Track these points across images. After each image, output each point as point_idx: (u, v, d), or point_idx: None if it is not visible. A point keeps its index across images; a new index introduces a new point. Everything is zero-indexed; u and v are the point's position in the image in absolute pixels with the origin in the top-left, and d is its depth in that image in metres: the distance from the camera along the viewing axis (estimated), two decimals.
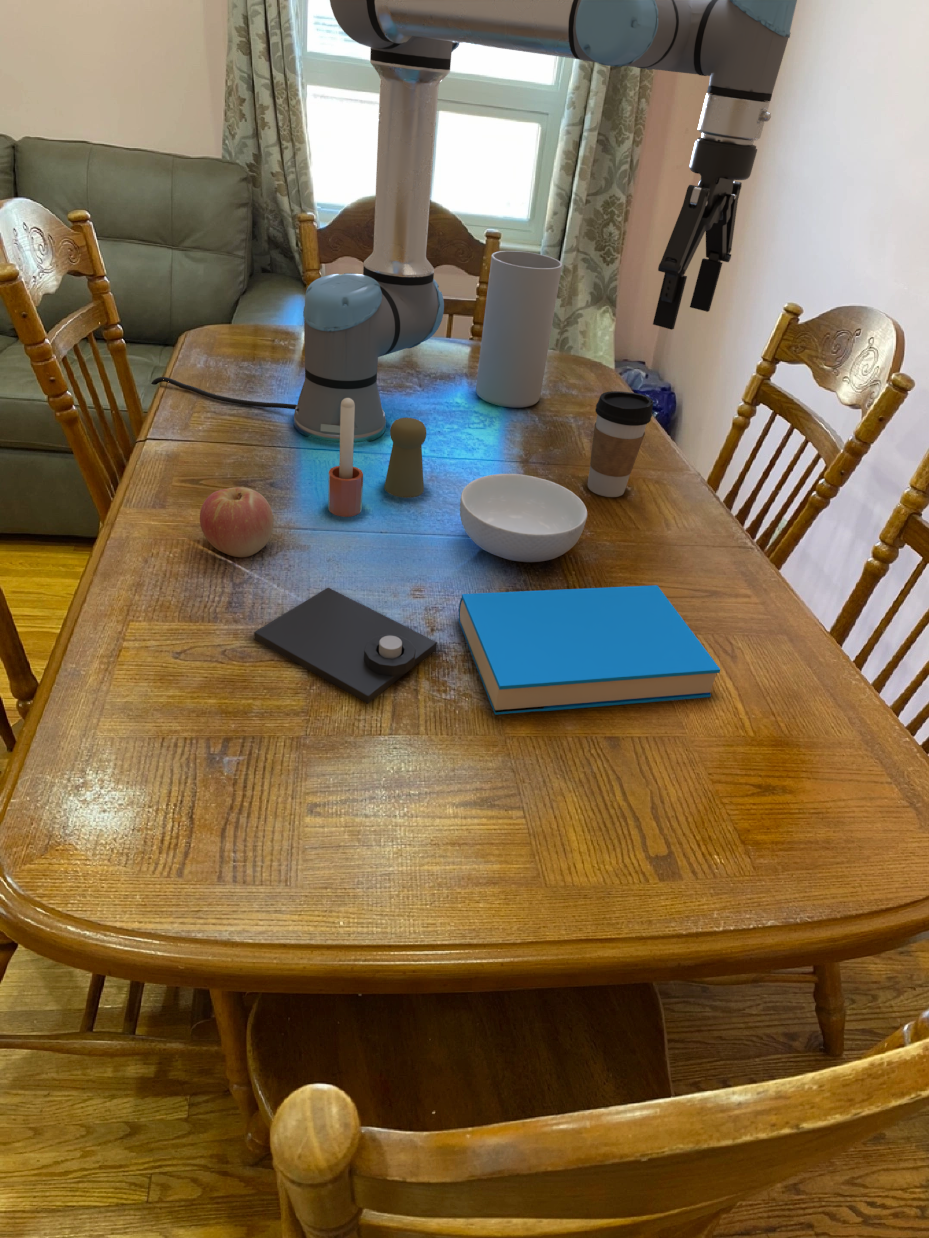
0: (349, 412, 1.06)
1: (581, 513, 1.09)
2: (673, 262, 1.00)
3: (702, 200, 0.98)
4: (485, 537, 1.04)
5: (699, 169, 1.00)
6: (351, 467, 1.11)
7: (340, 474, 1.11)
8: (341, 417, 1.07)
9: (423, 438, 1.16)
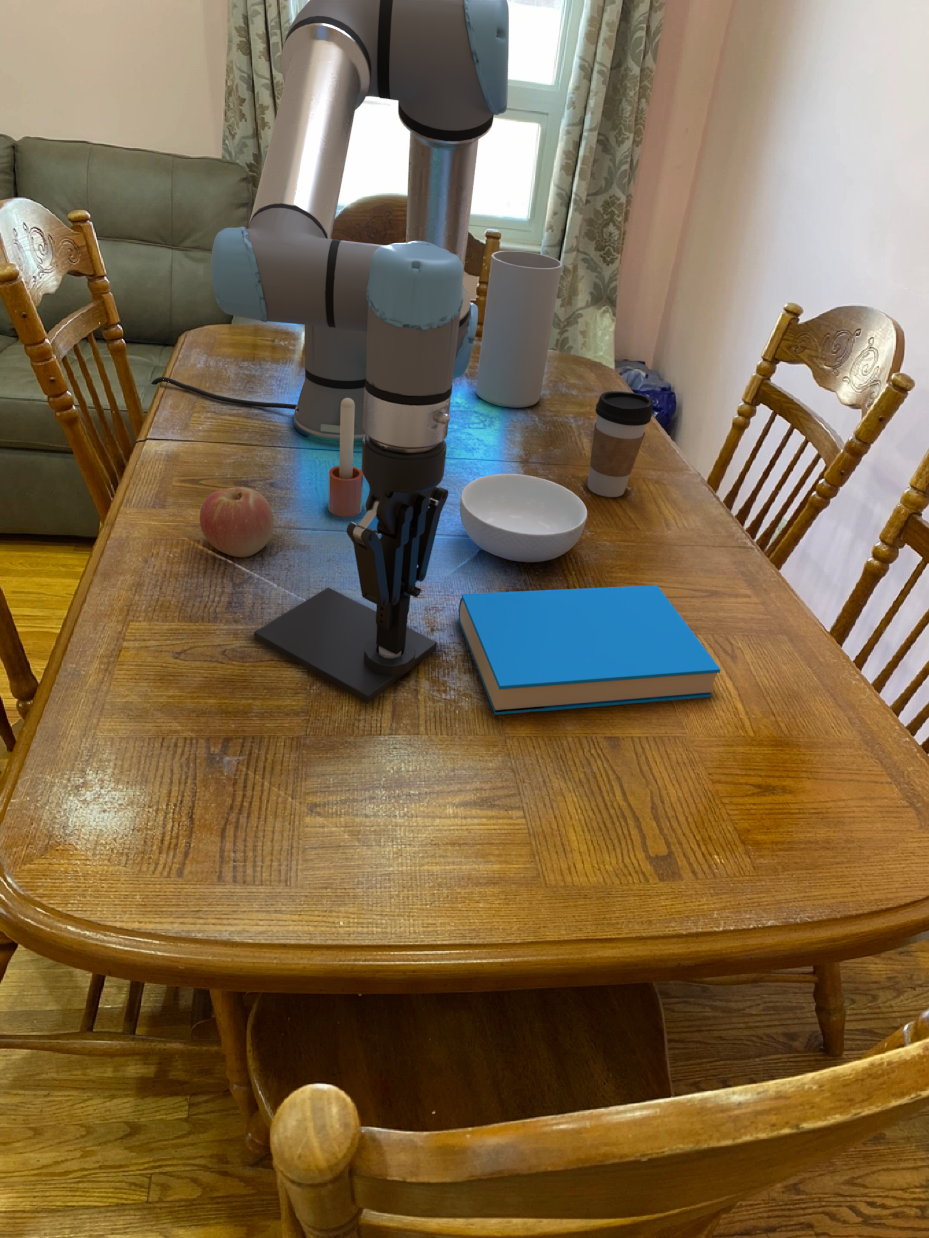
0: (349, 412, 1.06)
1: (581, 512, 1.09)
2: None
3: (369, 546, 0.73)
4: (485, 537, 1.04)
5: (366, 477, 0.73)
6: (351, 467, 1.11)
7: (340, 474, 1.11)
8: (341, 417, 1.07)
9: None
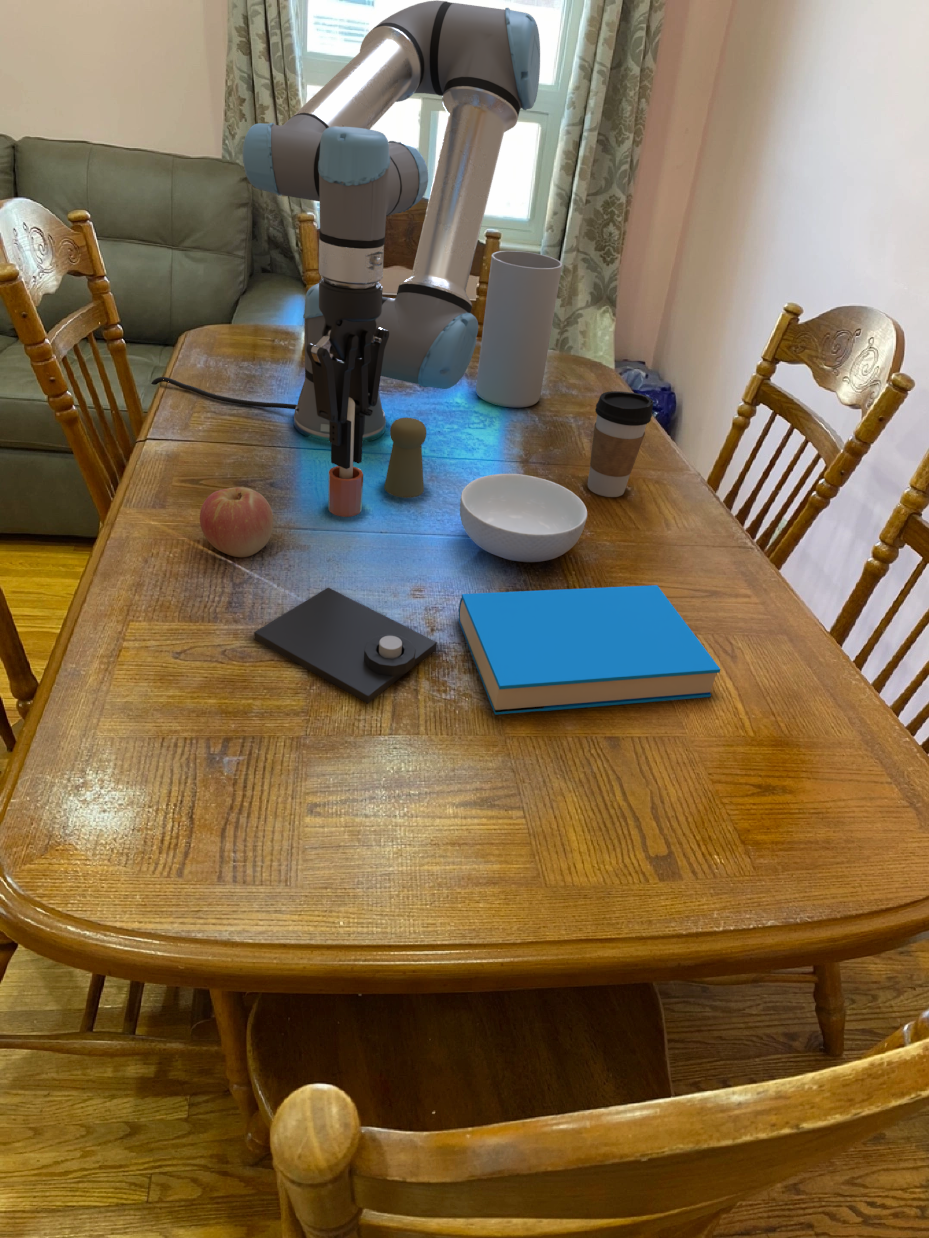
0: (349, 411, 1.06)
1: (581, 513, 1.09)
2: None
3: (322, 361, 0.97)
4: (485, 537, 1.04)
5: (322, 310, 0.97)
6: (351, 466, 1.11)
7: (340, 473, 1.11)
8: None
9: (423, 438, 1.16)
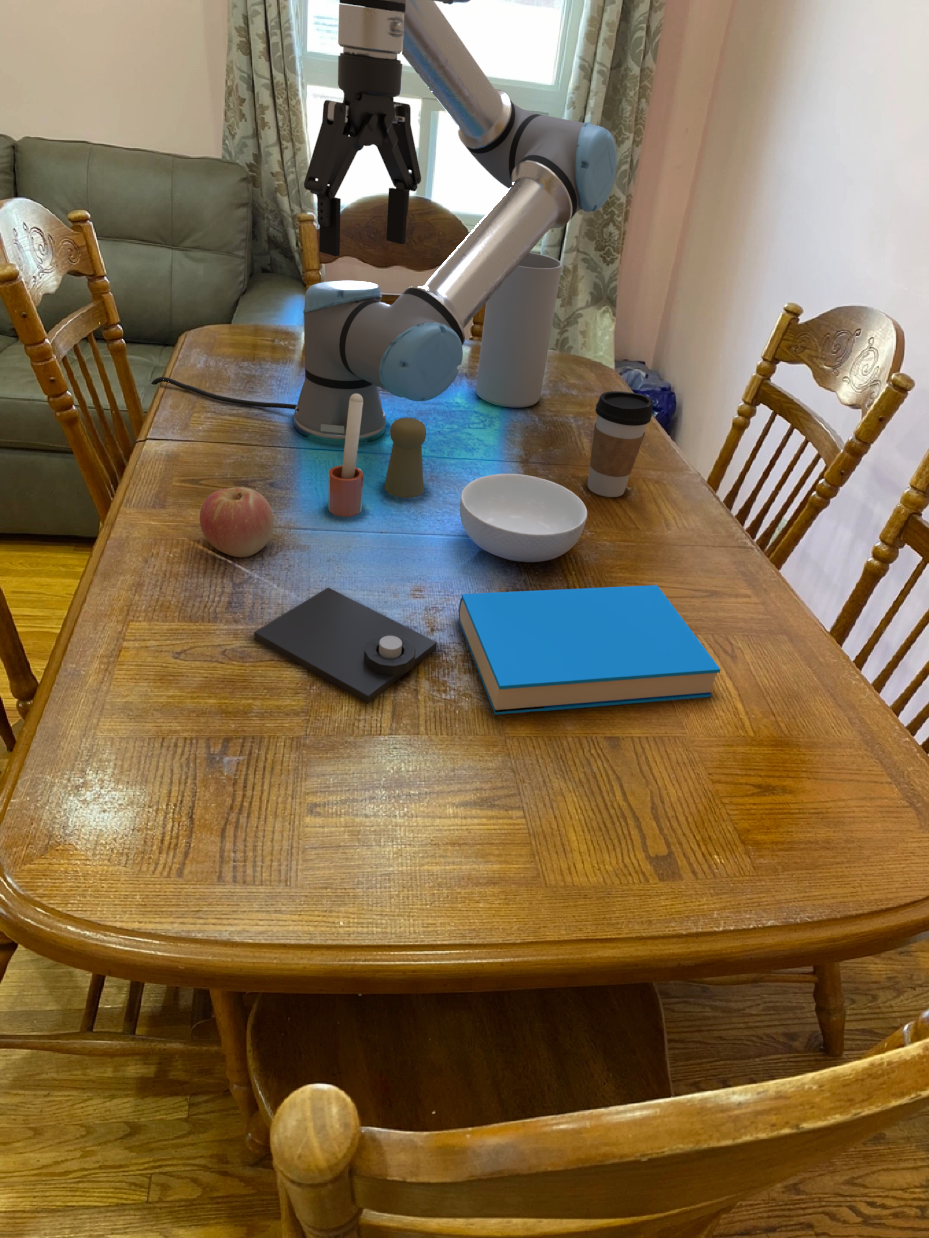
0: (357, 407, 1.08)
1: (581, 512, 1.09)
2: (315, 181, 0.97)
3: (337, 115, 0.94)
4: (485, 537, 1.04)
5: (341, 85, 0.96)
6: (354, 465, 1.12)
7: (343, 471, 1.12)
8: (349, 412, 1.09)
9: (423, 438, 1.16)
